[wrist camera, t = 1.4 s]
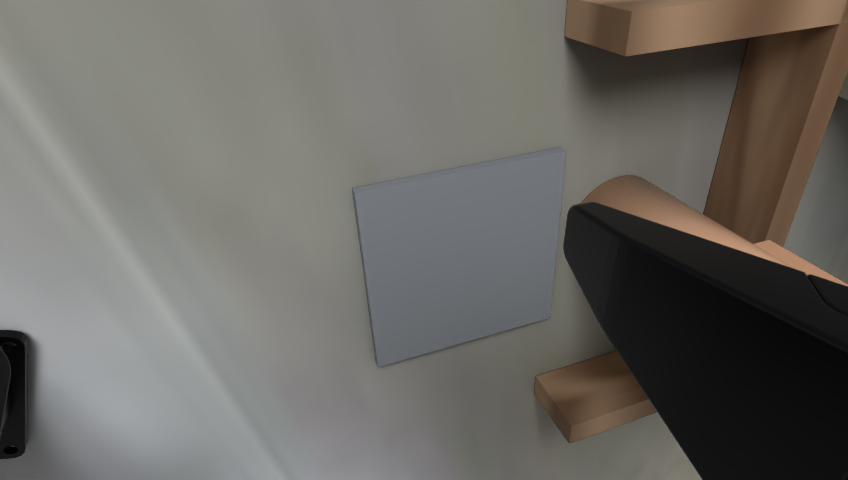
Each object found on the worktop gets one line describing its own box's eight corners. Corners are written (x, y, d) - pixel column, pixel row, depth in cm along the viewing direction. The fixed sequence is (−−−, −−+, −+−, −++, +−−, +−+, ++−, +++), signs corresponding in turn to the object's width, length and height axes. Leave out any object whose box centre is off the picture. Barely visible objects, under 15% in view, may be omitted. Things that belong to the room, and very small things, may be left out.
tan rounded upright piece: (563, 276, 29) (774, 488, 18) (573, 186, 26) (831, 375, 16) (680, 245, 31) (933, 419, 20) (701, 158, 28) (1009, 307, 18)
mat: (375, 360, 28) (378, 367, 27) (351, 188, 22) (354, 193, 22) (545, 312, 30) (550, 317, 30) (560, 147, 25) (566, 151, 25)
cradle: (534, 393, 34) (569, 443, 30) (567, -3, 21) (632, 11, 18) (686, 343, 37) (732, 384, 33) (791, -29, 24) (881, -21, 21)
